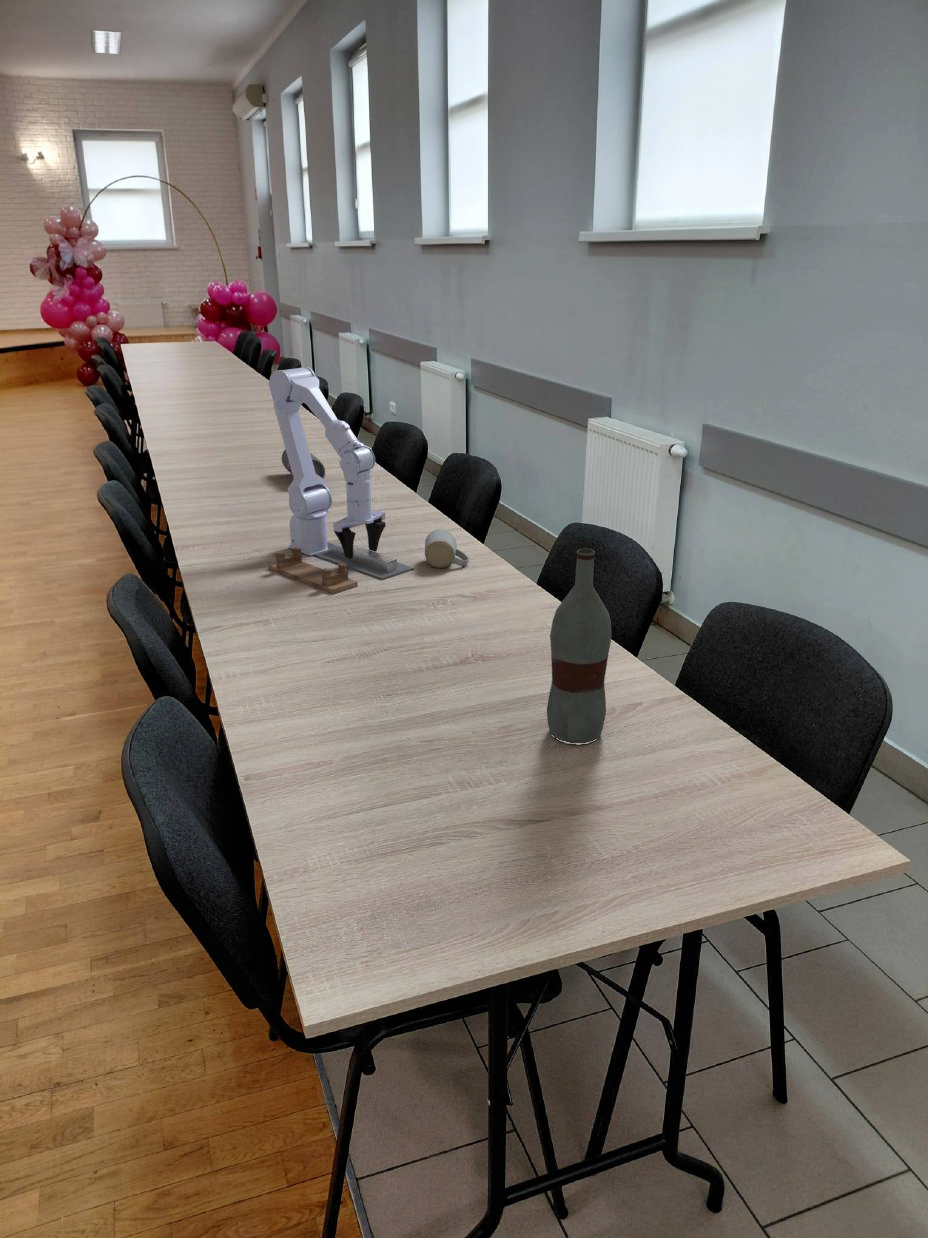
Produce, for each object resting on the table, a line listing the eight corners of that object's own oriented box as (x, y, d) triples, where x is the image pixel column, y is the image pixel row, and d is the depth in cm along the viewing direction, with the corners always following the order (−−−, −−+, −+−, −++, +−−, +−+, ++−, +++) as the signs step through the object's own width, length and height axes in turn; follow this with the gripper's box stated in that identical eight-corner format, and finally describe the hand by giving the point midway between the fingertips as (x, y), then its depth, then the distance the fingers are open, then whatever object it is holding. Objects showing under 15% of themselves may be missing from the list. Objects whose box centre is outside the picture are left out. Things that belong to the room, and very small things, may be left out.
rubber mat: (306, 553, 223) (306, 551, 223) (337, 544, 230) (337, 542, 230) (382, 579, 205) (382, 578, 205) (413, 569, 212) (413, 567, 212)
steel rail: (327, 551, 223) (327, 542, 222) (337, 549, 225) (336, 539, 224) (387, 572, 209) (387, 562, 208) (397, 569, 211) (396, 559, 210)
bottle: (567, 712, 147) (576, 537, 136) (615, 730, 142) (630, 549, 130) (534, 734, 141) (541, 552, 129) (583, 754, 135) (595, 565, 124)
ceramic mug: (424, 569, 212) (424, 538, 209) (425, 558, 220) (425, 528, 217) (469, 570, 212) (470, 539, 210) (468, 559, 220) (469, 529, 217)
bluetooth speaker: (280, 475, 299) (278, 445, 295) (307, 472, 303) (306, 442, 299) (298, 490, 280) (296, 458, 276) (327, 487, 284) (326, 456, 280)
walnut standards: (268, 568, 212) (267, 550, 210) (292, 561, 217) (291, 544, 215) (333, 593, 197) (332, 574, 195) (357, 585, 202) (356, 567, 200)
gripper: (346, 508, 204) (348, 564, 209) (393, 496, 213) (394, 550, 219) (326, 502, 208) (329, 558, 213) (373, 491, 218) (375, 544, 223)
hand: (361, 554), depth 216 cm, fingers open, 7 cm apart
